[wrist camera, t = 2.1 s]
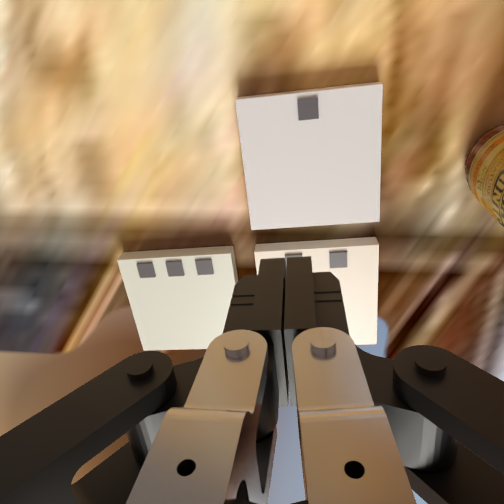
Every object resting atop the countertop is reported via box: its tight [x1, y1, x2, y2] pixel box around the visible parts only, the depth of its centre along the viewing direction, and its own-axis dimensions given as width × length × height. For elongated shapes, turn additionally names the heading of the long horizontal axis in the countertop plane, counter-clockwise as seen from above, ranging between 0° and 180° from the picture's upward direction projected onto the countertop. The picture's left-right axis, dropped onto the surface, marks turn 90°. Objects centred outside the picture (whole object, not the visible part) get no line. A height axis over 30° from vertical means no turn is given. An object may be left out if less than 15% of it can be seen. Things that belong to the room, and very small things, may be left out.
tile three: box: [117, 246, 238, 350], centre depth 39 cm, size 10×10×2 cm
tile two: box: [254, 237, 379, 345], centre depth 37 cm, size 10×10×2 cm
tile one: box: [235, 82, 383, 230], centre depth 32 cm, size 10×10×2 cm
